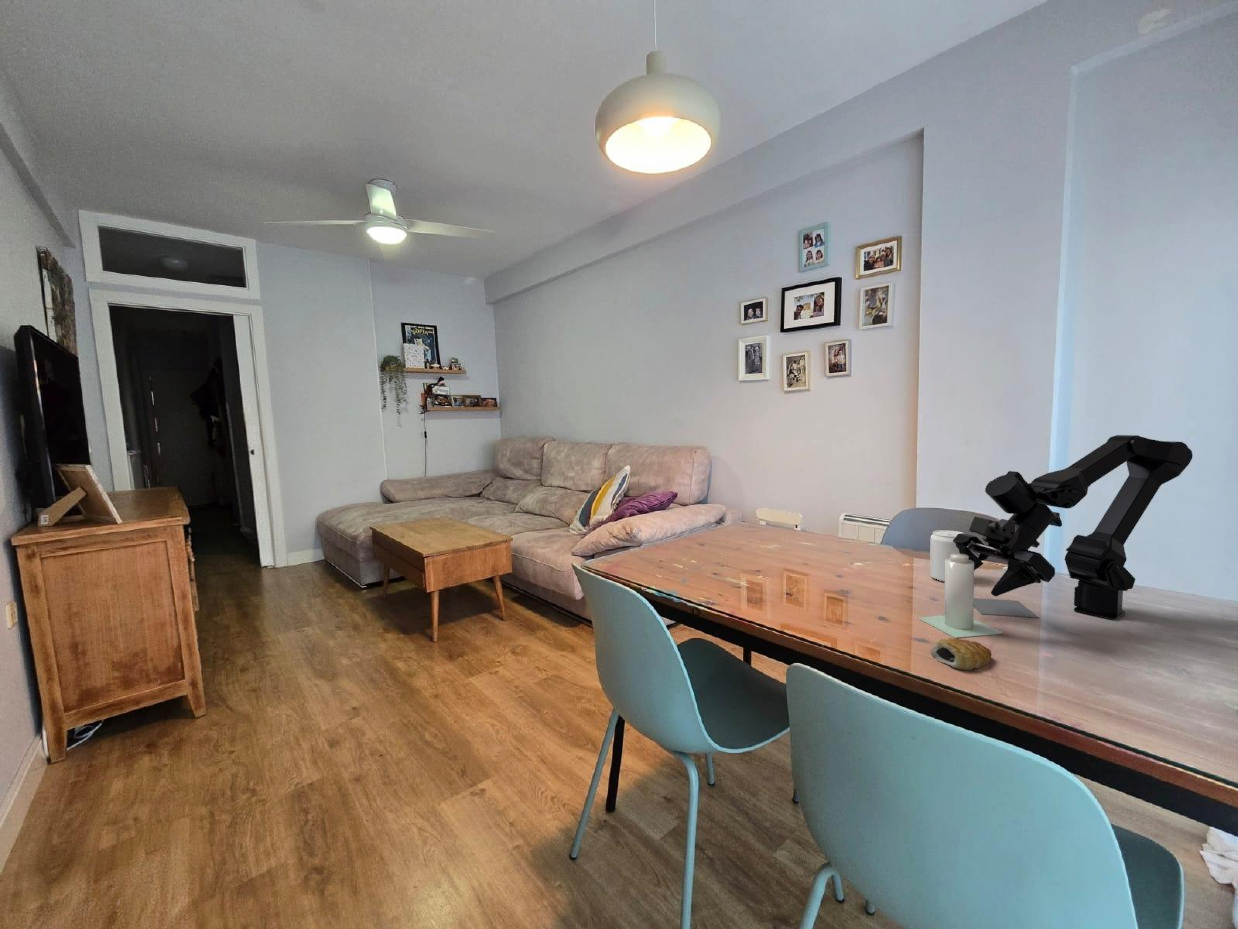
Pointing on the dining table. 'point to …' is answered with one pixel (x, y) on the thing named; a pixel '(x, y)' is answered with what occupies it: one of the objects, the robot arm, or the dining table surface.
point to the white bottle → (959, 592)
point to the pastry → (961, 653)
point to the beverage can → (941, 552)
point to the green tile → (977, 630)
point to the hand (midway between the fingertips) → (973, 587)
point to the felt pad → (1002, 608)
